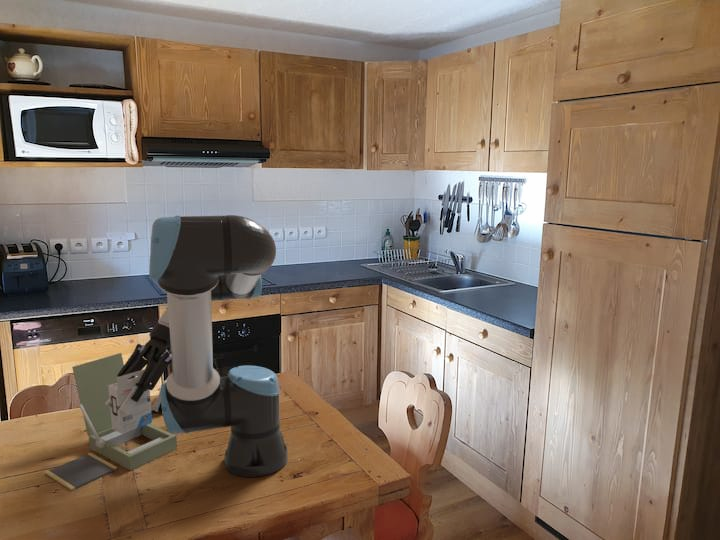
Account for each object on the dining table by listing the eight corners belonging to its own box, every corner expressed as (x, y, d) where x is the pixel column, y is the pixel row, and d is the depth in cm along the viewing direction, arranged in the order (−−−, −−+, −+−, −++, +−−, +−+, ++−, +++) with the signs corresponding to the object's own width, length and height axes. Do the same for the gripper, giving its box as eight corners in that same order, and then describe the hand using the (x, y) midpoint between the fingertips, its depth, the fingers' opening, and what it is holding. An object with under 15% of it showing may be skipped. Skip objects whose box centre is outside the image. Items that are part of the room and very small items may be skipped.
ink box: (142, 417, 146) (138, 364, 143) (152, 422, 143) (149, 368, 140) (110, 429, 139) (106, 373, 137) (121, 434, 136) (116, 377, 134)
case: (177, 448, 142) (172, 370, 138) (127, 472, 130) (120, 388, 127) (125, 424, 155) (119, 352, 151) (76, 444, 144) (68, 367, 140)
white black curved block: (165, 391, 178) (174, 363, 176) (179, 395, 178) (188, 367, 176) (148, 414, 161) (157, 383, 160) (164, 419, 162) (173, 388, 160)
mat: (117, 469, 132) (117, 467, 132) (71, 490, 123) (71, 488, 123) (90, 454, 139) (90, 452, 138) (45, 473, 130) (44, 471, 130)
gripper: (200, 342, 145) (148, 424, 134) (158, 332, 155) (107, 407, 145) (182, 327, 140) (127, 411, 129) (139, 317, 150) (85, 394, 139)
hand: (116, 409), depth 137 cm, fingers closed on ink box, 5 cm apart
